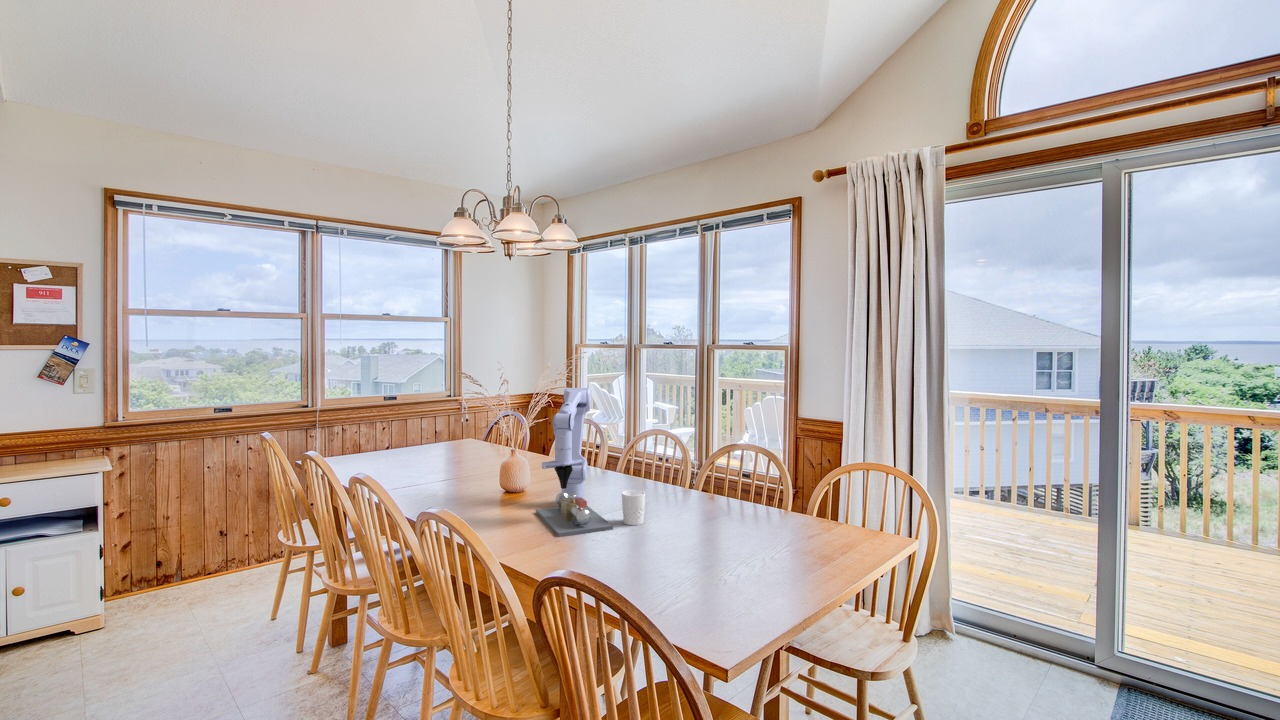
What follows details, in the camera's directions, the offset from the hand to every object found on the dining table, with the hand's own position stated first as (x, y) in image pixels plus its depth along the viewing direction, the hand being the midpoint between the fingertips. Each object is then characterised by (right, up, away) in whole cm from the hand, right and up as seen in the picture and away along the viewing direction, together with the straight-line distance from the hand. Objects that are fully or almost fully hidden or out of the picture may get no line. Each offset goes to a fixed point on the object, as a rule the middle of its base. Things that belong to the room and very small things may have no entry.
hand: (563, 488), depth 197 cm
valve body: (+4, -9, -3) cm, 10 cm away
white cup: (+24, -11, -4) cm, 27 cm away
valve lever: (+6, -3, -7) cm, 9 cm away
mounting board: (+4, -11, -3) cm, 11 cm away
